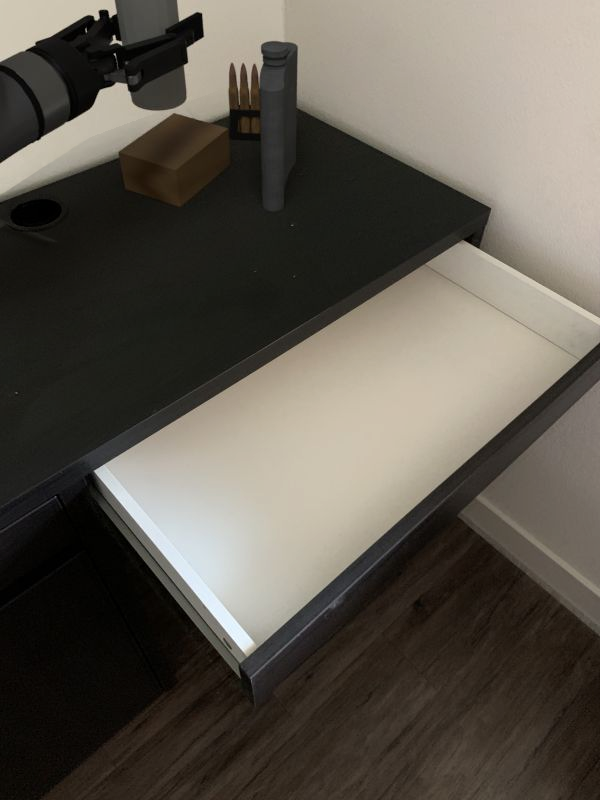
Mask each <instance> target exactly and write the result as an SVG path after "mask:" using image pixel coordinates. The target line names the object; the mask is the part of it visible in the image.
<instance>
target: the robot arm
mask: <svg viewBox="0 0 600 800" xmlns="http://www.w3.org/2000/svg"><path fill="white" fill-rule="evenodd" d="M98 17H99V18H98V19H96V18H95V16H94V15H92V14H86V15H85V16H82V17H81V18H79V19H78V20H76V21H74V22H73V23H71V24H69V25H68V26H66V27H64V28H62V29H61V30H59V31H57V32H56V33H54V34H52V35H51V36H49V37H45V38H42V39H39V40H36V41H35V42H34V45H32V46H30V47H28V48H27V49H25V50H21V51H19V52H17V53H15V54H13V55H10V56H9V57H6V58H5V59H3V60H1V61H0V164H2V163H3V162H5V161H6V160H7V159H10V158H11V157H12V156H14V155H15V154H17V153H18V152H20V151H21V150H23V149H24V148H27V147H28V146H29V145H31V144H35V142H39V141H40V140H42V138H43V137H45V136H46V135H48V134H50V133H51V132H54V131H55V130H57V129H59V128H60V127H62V126H64V125H65V124H66V123H70V122H72V121H73V120H75V119H77V118H78V117H79V116H81V115H84V114H85V113H86V112H88V111H90V110H91V109H92V107H93V106H94V105H95V103H96V101H97V98H98V95H99V93H100V91H101V90H104V89H108V88H112V87H113V86H115V85H116V84H123V85H126V87H127V91H128V92H129V93H130V92H138V91H139V90H140V89H141V88H142V87H143V86H144V85H145V84H147V83H149V82H151V81H153V80H155V79H157V78H159V77H161V76H163V75H165V74H167V73H169V72H171V71H173V70H175V69H177V68H179V67H181V66H183V65H184V66H185V65H187V64H189V54H188V48H189V47H191V46H192V45H194V44H195V43H197V42H198V41H200V40H202V39H203V38H205V31H204V19H203V12H201V11H195V12H194V13H192V14H190V15H189V16H186V17H184V18H183V19H182V20H179V22H178V23H176V24H174V25H172V26H171V27H169V28H167V29H165V33H166V34H164V35H161V36H157V37H154V38H150V39H147V40H143V41H139V42H136V43H132V44H129V45H125V46H122V44H120V43H118V42H121V43H122V41H121V35H120V29H119V23H118V17H117V13H115V14H112V15H111V17H110V12H109V10H108V9H98ZM114 37H115V41H116V42H114V43H113V41H114Z"/></svg>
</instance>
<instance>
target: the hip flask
mask: <svg viewBox="0 0 600 800" xmlns="http://www.w3.org/2000/svg"><path fill="white" fill-rule="evenodd" d="M260 53H261V55H262V66H261V67H260V72H259V89H260V128H261V141H260V158H261V162H260V164H261V165H260V167H261V200H262V201H261V202H262V203H261V204H262V208H263V209H264V210H265V211H267V212H270V213H271V212H272V213H274V212H276V213H277V212H279V211H281V210H283V209H284V207H285V189H286V184H287V181H288V178H289V175H290V173H291V171H292V169H294V168H293V167H295V165H296V162H297V121H298V120H297V116H298V115H297V114H298V113H297V111H298V110H297V109H298V108H297V107H298V60H299V57H298V55H299V54H298V53H299V46H298V45H297V44H296V43H295V42H289V41H281V40H280V41H279V40H270V41H265V42H263V43H262V44H261V45H260Z"/></svg>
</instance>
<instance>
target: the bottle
mask: <svg viewBox="0 0 600 800" xmlns="http://www.w3.org/2000/svg"><path fill="white" fill-rule="evenodd" d="M114 5H115V10H116V14H117V17H118V23H119V29H120V35H121V45H122V46H125V45H129V44H132V43H136V42H139V41H143V40H147V39H150V38H154V37H157V36H161V35H164V34H166V33H165V29H167V28H169V27H171V26H172V25H174V24H176V23H178V22H180V16H179V15H180V14H179V5H178V0H114ZM187 92H188V91H187V81H186V72H185V65H183V66H181V67H179V68H177V69H175V70H173V71H171V72H169V73H167V74H165V75H163V76H161V77H159V78H157V79H155V80H153V81H151V82H149V83H147V84H145V85H144V86H143V87H142V88H141V89H140V90H139V91H138V92H129V95H130V98H131V102H132V104H133V105H134V106H135V107H137V108H139V109H142V110H145V111H153V112H161V111H163V112H164V111H169V110H174V109H176V108H178V107H180V106H182V105H183V104H185V102H186V101H187V98H188V97H187V96H188V95H187V94H188V93H187Z"/></svg>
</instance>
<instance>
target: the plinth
mask: <svg viewBox="0 0 600 800" xmlns="http://www.w3.org/2000/svg"><path fill="white" fill-rule="evenodd" d="M230 150H231V149H230V131H229V127H226V126H221V125H217V124H215V123H210V122H207V121H203V120H200V119H197V118H193V117H190V116H186V115H183V114H180V113H176V112H173V113H171V114H170V115H169V116H168V117H166V118H164V119H163V120H161V121H160V122H158V123H157V124H156V125H155V126H153V127H151V128H150V129H149V130H147V131H146V132H144V133H143V134H142V135H140V136H139V137H137V138H136V139H135V140H133V141H132V142H130V143H128V144H127V145H126V146H124V147H123V148H122V149H120V150H119V151H118V152H117V154H118V159H119V163H120V168H121V173H122V178H123V184H124V189H125V190H127V191H130V192H132V193H136V194H140V195H142V196H145V197H148V198H150V199H154V200H157V201H160V202H163V203H166V204H168V205H172V206H175V207H178V208H181V207H183V206H184V205H185V204H186V203H188V202H189V201H190V200H191V199H192V198H193V197H194V196H195V195H197V194H198V193H199V192H200V191H202V190H203V189H204V188H205V187H206V186H208V185H209V184H210V183H211V182H212V181H214V179H216V178H217V177H218V176H219V175H220V174H222V173H223V172H224V171H225V170H226V169H227V168H229V166H231V151H230Z"/></svg>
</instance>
